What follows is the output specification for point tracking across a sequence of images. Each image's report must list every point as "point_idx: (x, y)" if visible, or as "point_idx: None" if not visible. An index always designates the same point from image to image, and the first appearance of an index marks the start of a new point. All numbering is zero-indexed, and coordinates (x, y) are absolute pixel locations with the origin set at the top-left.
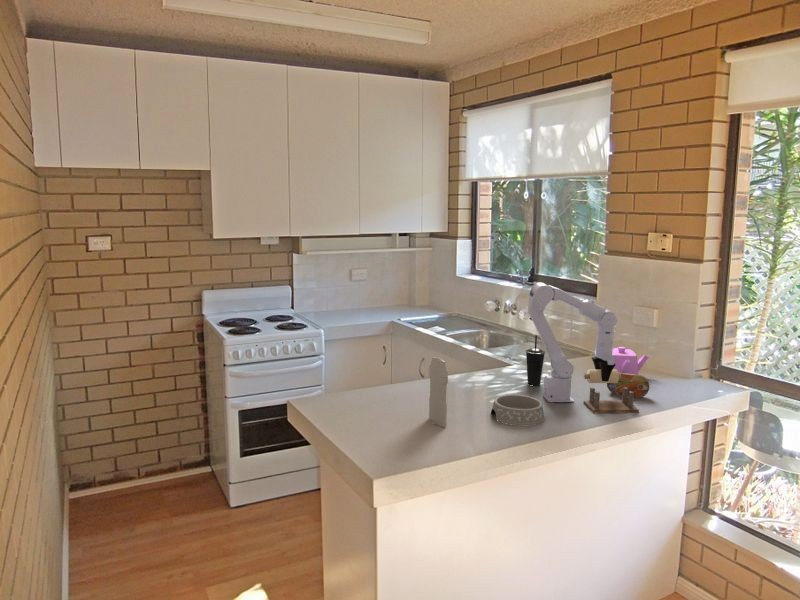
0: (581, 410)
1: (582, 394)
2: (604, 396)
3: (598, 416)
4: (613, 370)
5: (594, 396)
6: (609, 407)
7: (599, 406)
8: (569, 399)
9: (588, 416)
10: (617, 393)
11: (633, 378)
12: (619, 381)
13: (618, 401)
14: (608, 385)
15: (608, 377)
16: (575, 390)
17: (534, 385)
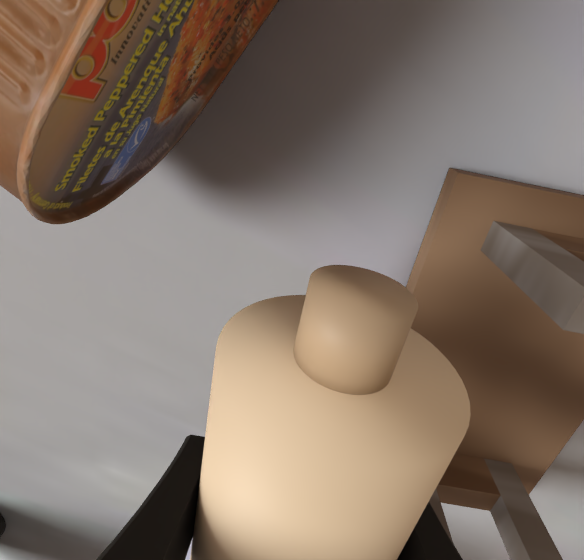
0: (450, 510)
1: (165, 377)
2: (232, 255)
3: (578, 488)
4: (378, 526)
5: (438, 496)
6: (537, 405)
7: (486, 446)
8: None
9: (547, 523)
10: (191, 101)
11: None
12: (132, 83)
13: (453, 271)
14: (102, 187)
15: (435, 531)
16: (70, 376)
17: (1, 531)
